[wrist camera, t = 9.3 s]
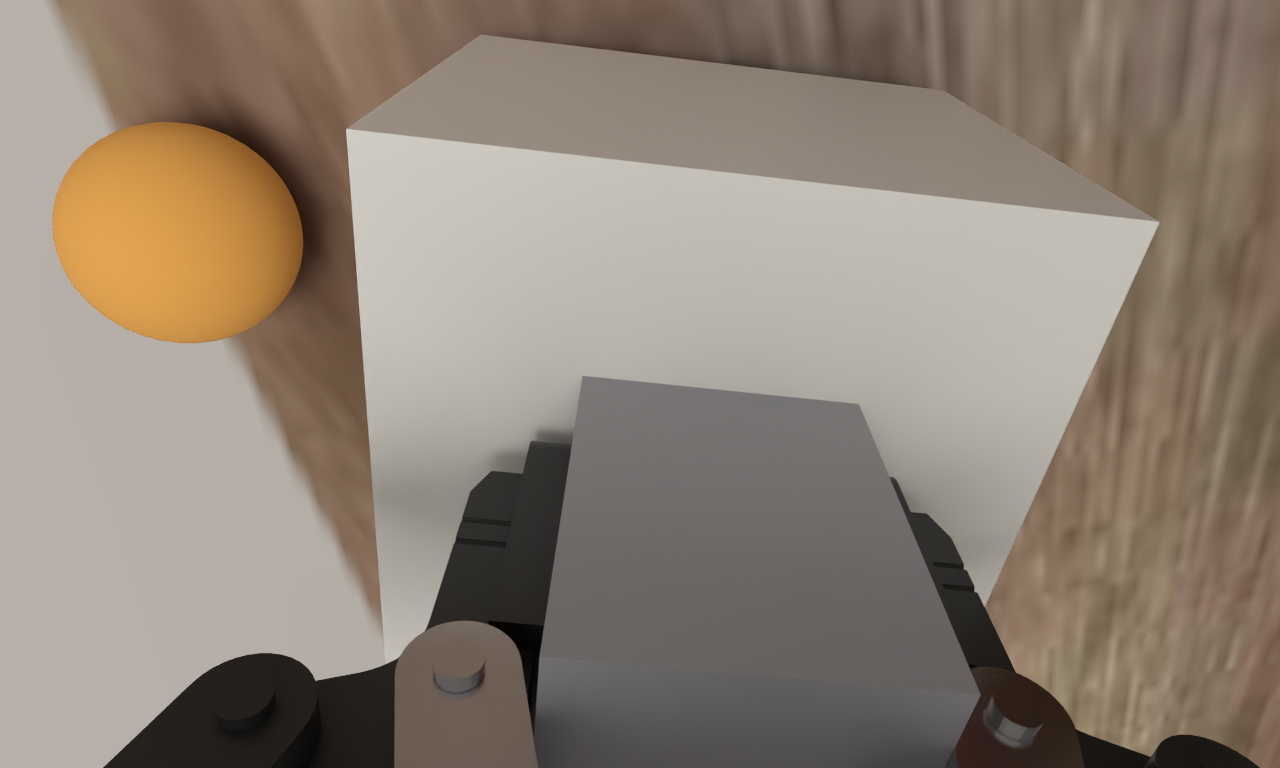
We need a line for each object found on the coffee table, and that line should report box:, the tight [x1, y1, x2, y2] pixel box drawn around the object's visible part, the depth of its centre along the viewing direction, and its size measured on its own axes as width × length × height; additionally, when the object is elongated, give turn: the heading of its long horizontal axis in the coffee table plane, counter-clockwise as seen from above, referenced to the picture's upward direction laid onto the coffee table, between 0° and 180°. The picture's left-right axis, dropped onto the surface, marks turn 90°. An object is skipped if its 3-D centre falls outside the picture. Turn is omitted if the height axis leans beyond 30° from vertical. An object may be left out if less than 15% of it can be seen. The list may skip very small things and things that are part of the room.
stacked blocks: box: [346, 35, 1159, 768], centre depth 14 cm, size 10×10×14 cm
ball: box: [53, 122, 303, 343], centre depth 19 cm, size 5×5×5 cm
